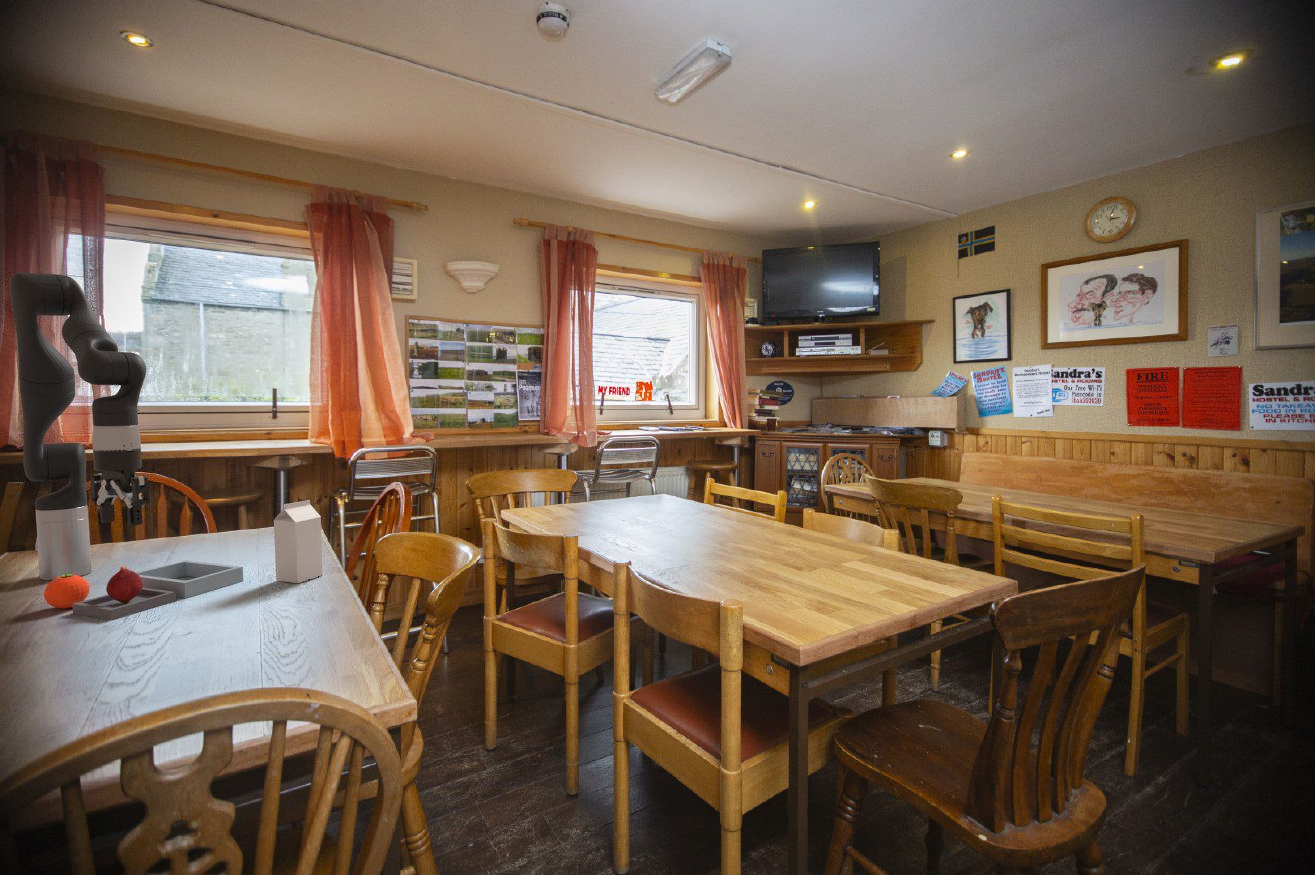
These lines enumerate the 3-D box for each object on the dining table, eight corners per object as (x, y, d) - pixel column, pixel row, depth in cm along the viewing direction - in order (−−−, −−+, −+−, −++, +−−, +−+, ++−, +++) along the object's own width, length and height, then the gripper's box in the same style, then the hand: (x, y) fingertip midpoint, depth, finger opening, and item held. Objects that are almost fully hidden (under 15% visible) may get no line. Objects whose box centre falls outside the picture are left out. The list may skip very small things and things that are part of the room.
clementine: (44, 606, 128) (41, 573, 128) (88, 598, 133) (86, 567, 133) (45, 615, 123) (43, 581, 122) (92, 607, 128) (90, 574, 127)
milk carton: (323, 576, 150) (320, 500, 149) (297, 584, 144) (294, 505, 142) (301, 573, 153) (298, 499, 151) (275, 581, 146) (272, 503, 145)
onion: (151, 599, 130) (149, 562, 130) (124, 608, 125) (122, 570, 124) (127, 598, 131) (125, 562, 131) (99, 607, 125) (97, 569, 125)
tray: (72, 613, 124) (72, 603, 124) (138, 595, 135) (137, 586, 135) (111, 620, 120) (111, 610, 120) (175, 600, 132) (175, 591, 132)
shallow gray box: (125, 589, 139) (124, 575, 139) (186, 573, 152) (185, 560, 152) (185, 598, 133) (184, 582, 133) (243, 581, 146) (242, 566, 146)
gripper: (72, 447, 124) (77, 525, 126) (119, 449, 120) (124, 530, 121) (115, 445, 132) (119, 518, 133) (160, 446, 127) (164, 522, 128)
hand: (121, 523), depth 127 cm, fingers open, 8 cm apart
